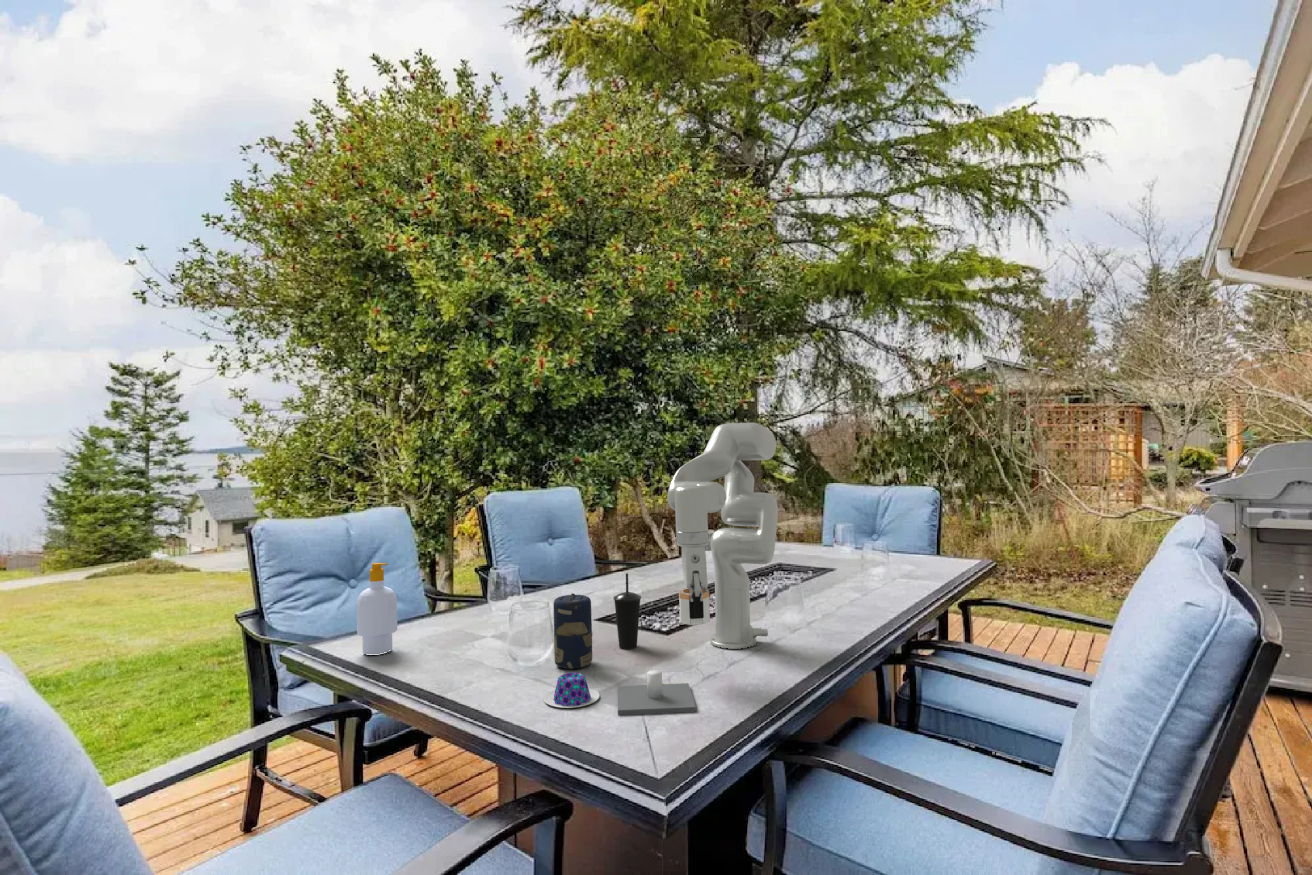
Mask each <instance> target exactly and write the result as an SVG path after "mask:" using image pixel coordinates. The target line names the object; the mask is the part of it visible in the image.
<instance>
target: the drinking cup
mask: <svg viewBox="0 0 1312 875" xmlns="http://www.w3.org/2000/svg"><path fill="white" fill-rule="evenodd" d="M612 599H613V600H614V609H615V617H616V628H617V637H618V647H619V649H622V650H634V649H636V648H637V647H638V637H639V636H638V633H639V622H640V621H639V620H640V608H641V600H642V595H641V594H637V593H636V592H633V591H632V592H631V591H629V573H625V591H623V592H620V593H618V594H616V595H614V596H613V598H612Z"/></svg>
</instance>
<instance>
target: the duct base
mask: <svg viewBox="0 0 1312 875" xmlns="http://www.w3.org/2000/svg"><path fill="white" fill-rule="evenodd" d="M646 677H647V678H646V681H647V682H646V684H636V685H635V684H634V685H633V684H632V685H618V686H617V716H626V715H627V716H628V715H631V716H632V715H650V714H654V715H655V714H674V713H675V714H679V713H696V712H697V707H696V704H695V699H694V695H693V693H692V690H691V688H690V685H689V684H690V683H688V682H687V683H684V682H683V683H664V684H663V672H662V671H661V670H658V669H653V670H648V671H647V673H646Z"/></svg>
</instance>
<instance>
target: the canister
mask: <svg viewBox="0 0 1312 875" xmlns="http://www.w3.org/2000/svg"><path fill="white" fill-rule="evenodd" d="M592 624H593V622H592V600H591V598H590V597H589V596H587V595H584V594H575V593H571V594H565V595H561V596H558V597H556V598H555V599H554V600H553V644H554V645H553V646H554V648H553V650H554V652H553V654H554V655H553V656H554V657H553V658H554V664H555V665H556V666H557V667H559V668H561V669H569V670H571V669H581V668H584V667H587V666H589V665H591V663H592V661H593V625H592Z"/></svg>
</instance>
